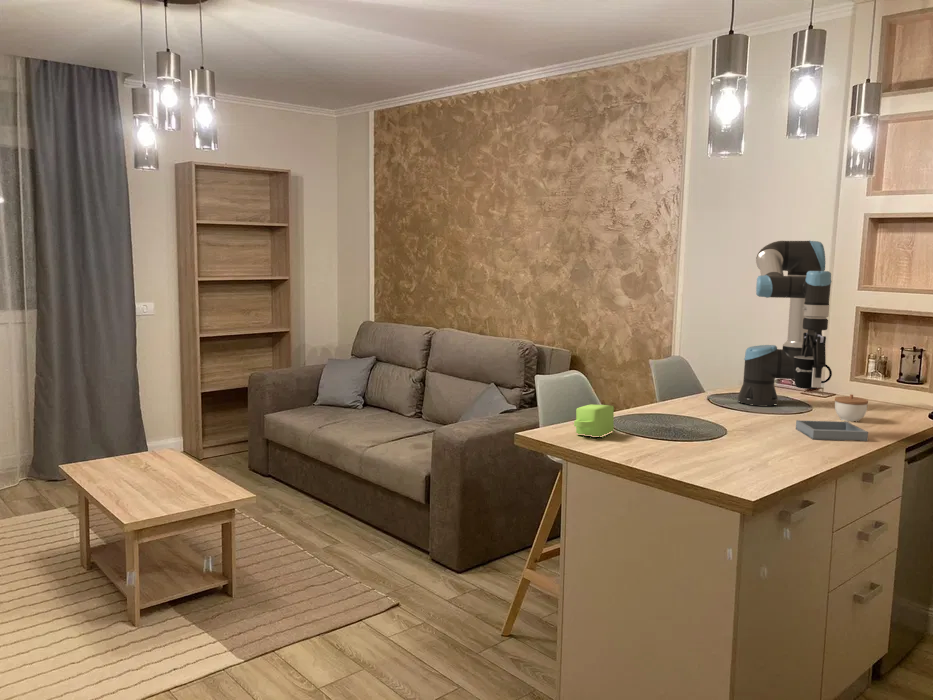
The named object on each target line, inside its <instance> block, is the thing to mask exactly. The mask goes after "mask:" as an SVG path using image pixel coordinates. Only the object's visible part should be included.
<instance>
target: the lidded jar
mask: <svg viewBox="0 0 933 700" xmlns="http://www.w3.org/2000/svg"><path fill="white" fill-rule="evenodd" d="M868 404H869V400H868V399H866V398H862V397H856V396H854V394H852V393H851V394H849V396H847V395H846V396H844V395H843V396H841V395H840V396H836V397H835V398H834V411H835V413H836V416H838V418H839V419H840V420H841V421H843V420H845V421H844V422H849V421H851V422H852V423H853V421H856V422H855V423H858V422H860V420H861V419H863V418H864V417H865V416H866V413H867V410H868ZM857 421H858V422H857ZM851 422H850V423H851Z"/></svg>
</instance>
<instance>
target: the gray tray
mask: <svg viewBox="0 0 933 700" xmlns="http://www.w3.org/2000/svg"><path fill="white" fill-rule="evenodd" d="M795 430H797V431H799V433H802V434H803V435H804V436H807V437H808V438H810V439H812V440H813V441H815V440H819V441H845V440H860V441H859V442H868V437H869V431H867V430H865V429H863V428H860V427H859V426H857V425H855V424H852V423H851V422H849V421H837V420H836V421H834V420H833V421H831V420H799V419H797V420H795Z"/></svg>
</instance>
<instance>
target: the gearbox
mask: <svg viewBox="0 0 933 700" xmlns="http://www.w3.org/2000/svg"><path fill="white" fill-rule="evenodd" d="M575 411H576V412H575V415H576V416H575V420H574V421H573V425H574V426H573V427H575V429H576V430H575V431H576V432H575V433H578V434H585V435H592V436H599V437H600V436H602V435H604V434H607V433H609V432H611V431H613V432H614V426H615V425H614V421H615V420H614V419H615V418H614V417H615V415H614V414H615V413H614V405H608V404H592V403H591V404H587V405H586V404H585V405H583V406H580V407H577V408H576V410H575Z"/></svg>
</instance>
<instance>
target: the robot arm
mask: <svg viewBox="0 0 933 700" xmlns="http://www.w3.org/2000/svg"><path fill="white" fill-rule="evenodd" d="M758 251H759V252H758V253H757V254H756V257H755V263H756V266H757V269H759V271H760V275H758V276H757V278H756V287H755V290H756V291H755V293H756V297H760V298H766V299H767V298H775V299H776V298H782V299H783V298H785V299H787V298H788V299H789V311H788V313H789V314H788V325H787V338H786V342H784V343H782V349H780V348H778V346H777V345H775V344H763V345H762V344H761V345H752V346H749V347H747V348H746V350H745V355H744V358H743V360H744V367H743V368H744V369H743V383H742V385H741V387H740V390H739V392H738V395H737V402H738V401H740V402H742V403H746V404H753V405H774V404H777V403H778V404H779V398H778V394H777V391H776V387H775V381H776V380H775V379H780V380H781V379H782V380H783V379H785V380H794V357H795V356H805V357H808V356H812V357H813V359H814V365H813V366H812V368H813V372H812V386H811V387H815V388H816V389H818V388H819V389H821V388H822V383H821V381H822V375H823V368H826V367H825V366H826V365H827V363H826V355H827V354H826V342H827V341H826V340H827V336H823V332H822V331H827V330H828V328H829V327H828V326H829V324H828V323H829V319H828V317H830V315H829V314H830V296H831V295H830V294H831V285H832V273H831V272H830V270H829V271H828V270H826V253H825V247H824V244H823V243H822V242H821V241H816V240H776V241H773V242H771V243H768V244H766V245H765V246H763V247H762V248H761V249H760V250H758ZM784 271H785V272H787V275H785V274H784ZM742 403H741V404H742ZM746 404H745V405H746Z"/></svg>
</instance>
